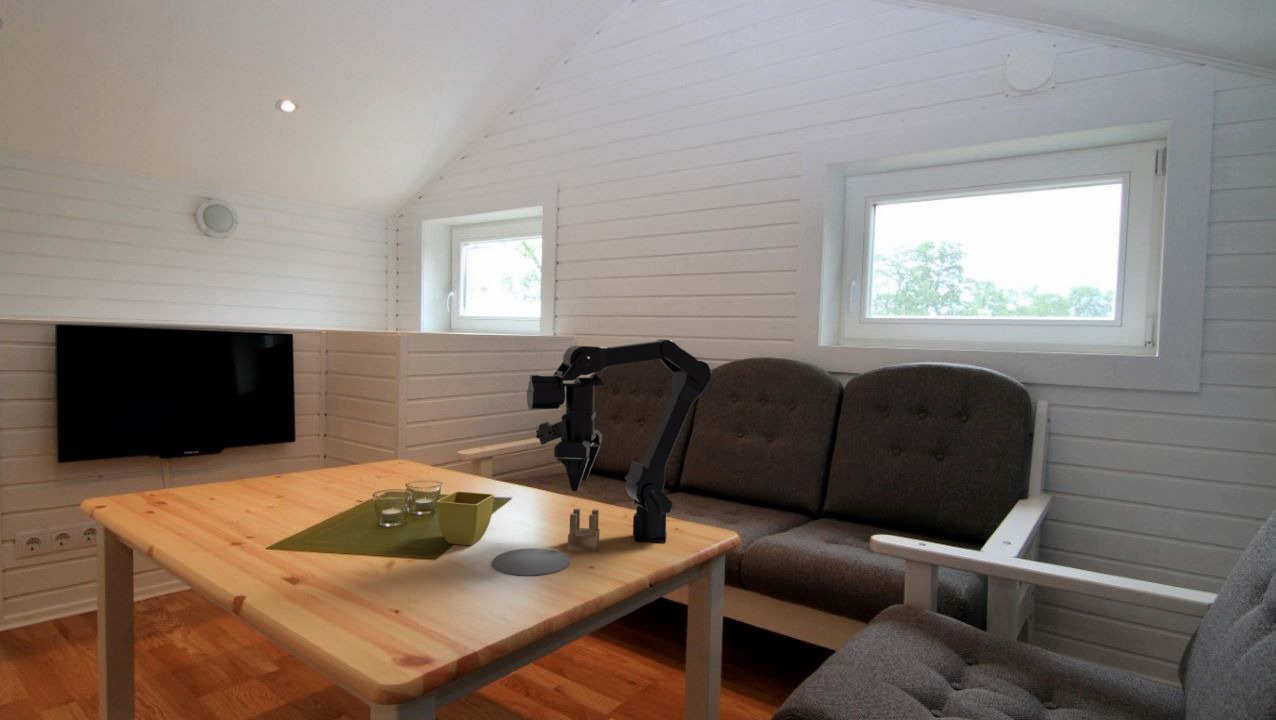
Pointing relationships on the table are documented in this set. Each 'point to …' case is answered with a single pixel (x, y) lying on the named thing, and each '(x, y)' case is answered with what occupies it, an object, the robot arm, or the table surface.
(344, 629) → the table surface
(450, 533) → the flower pot
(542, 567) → the mat
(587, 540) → the stool
